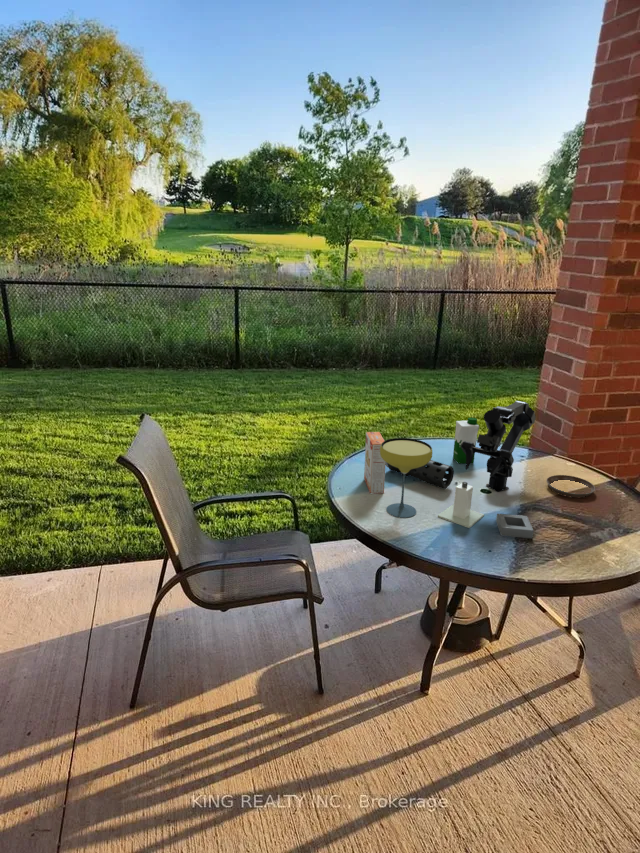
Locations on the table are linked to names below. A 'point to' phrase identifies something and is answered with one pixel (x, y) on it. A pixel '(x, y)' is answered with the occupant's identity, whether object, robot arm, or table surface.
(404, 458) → the cocktail glass
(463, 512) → the plug
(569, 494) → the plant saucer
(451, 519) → the rubber mat
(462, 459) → the milk carton
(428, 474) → the muzzle brake
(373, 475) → the cracker box
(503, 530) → the socket collar
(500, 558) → the table surface
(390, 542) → the table surface
